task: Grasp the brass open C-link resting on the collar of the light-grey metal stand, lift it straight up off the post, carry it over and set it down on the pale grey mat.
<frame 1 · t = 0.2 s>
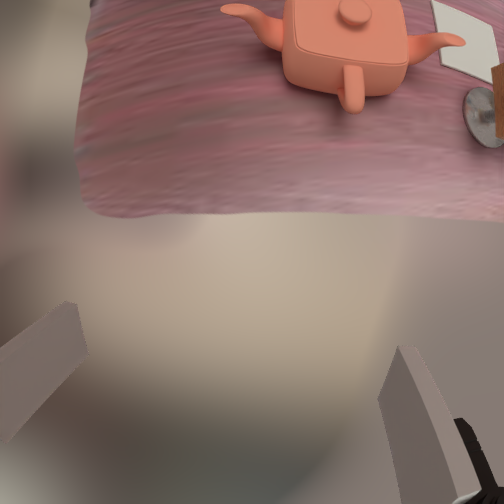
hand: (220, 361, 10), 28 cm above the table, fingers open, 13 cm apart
stand: (485, 117, 28), on the table
pot: (337, 48, 29), on the table
mat: (468, 43, 25), on the table
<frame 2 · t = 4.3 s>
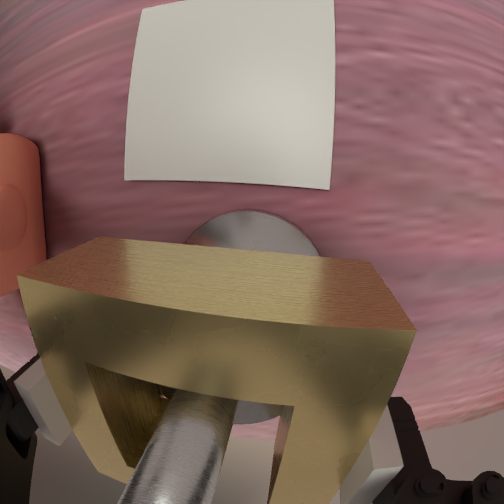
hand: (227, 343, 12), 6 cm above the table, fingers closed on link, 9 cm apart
stand: (250, 283, 18), on the table
pot: (6, 197, 19), on the table
link: (219, 365, 10), point 8 cm above the table, touching gripper, stand
mat: (226, 80, 14), on the table
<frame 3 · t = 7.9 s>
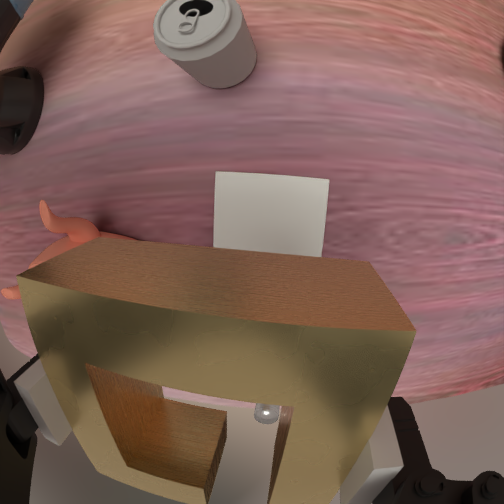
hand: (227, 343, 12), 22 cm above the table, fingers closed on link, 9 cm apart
can: (224, 61, 27), on the table
stand: (277, 326, 35), on the table
pot: (110, 268, 37), on the table
link: (219, 366, 10), point 23 cm above the table, touching gripper
mat: (268, 229, 32), on the table
when the fingers open (3 cm above the table, at t = 11.5 s): link drops 4 cm, resting on mat.
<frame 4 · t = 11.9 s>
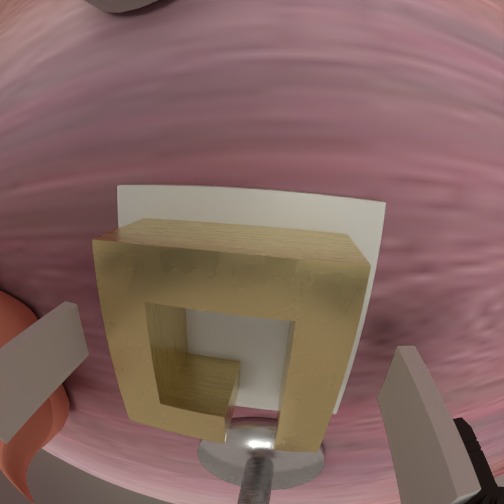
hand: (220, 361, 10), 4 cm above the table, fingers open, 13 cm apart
stand: (261, 454, 17), on the table
pot: (12, 336, 19), on the table
link: (236, 319, 14), point 1 cm above the table, touching mat
mat: (238, 313, 14), on the table
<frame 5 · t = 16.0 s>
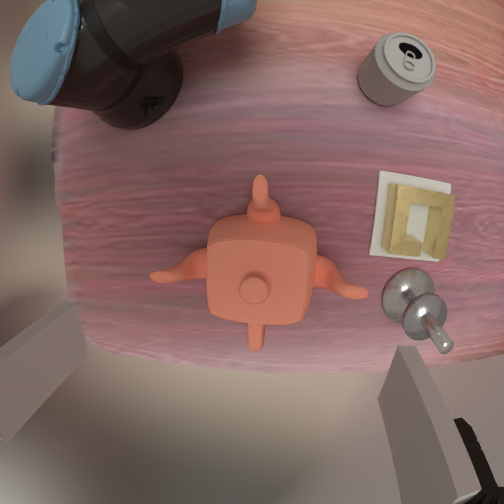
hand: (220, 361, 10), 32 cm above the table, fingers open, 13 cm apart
can: (381, 83, 33), on the table
stand: (407, 294, 41), on the table
pot: (265, 250, 42), on the table
link: (412, 218, 37), point 1 cm above the table, touching mat
mat: (411, 217, 38), on the table
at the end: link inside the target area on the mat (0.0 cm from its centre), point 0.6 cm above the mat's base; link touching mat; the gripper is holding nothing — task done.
